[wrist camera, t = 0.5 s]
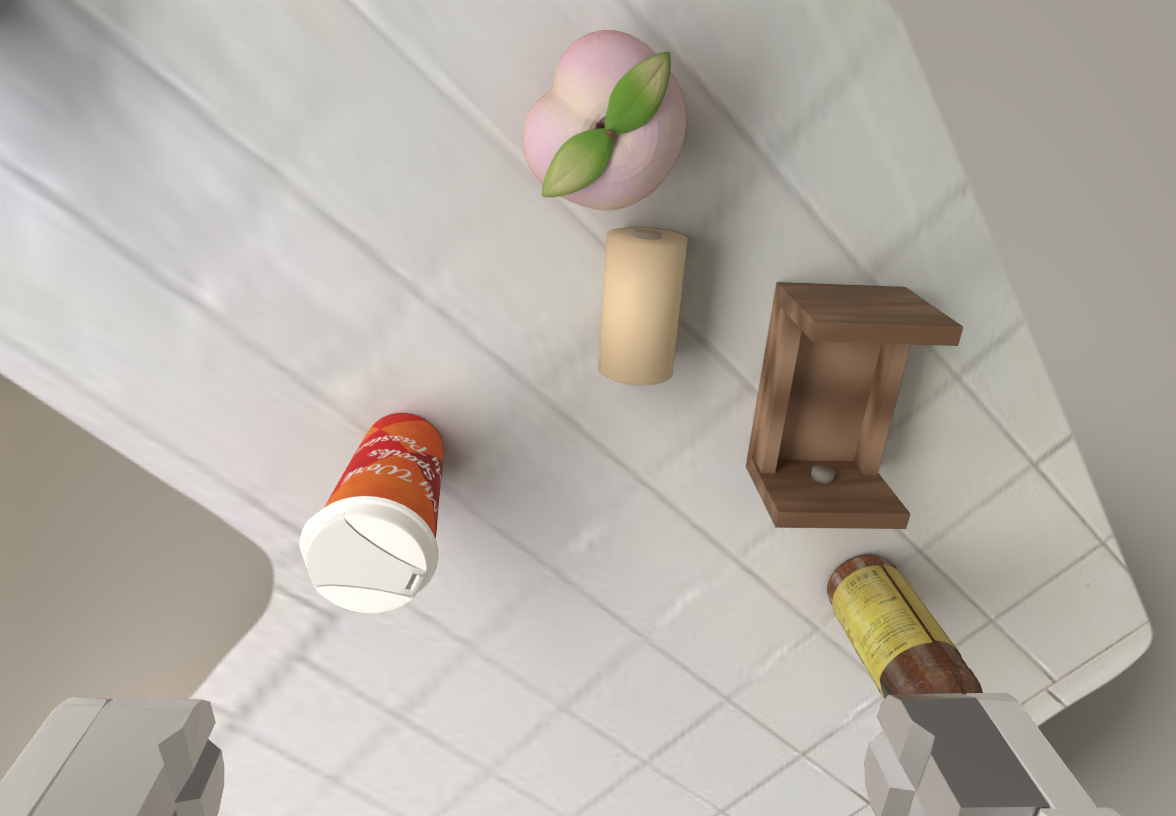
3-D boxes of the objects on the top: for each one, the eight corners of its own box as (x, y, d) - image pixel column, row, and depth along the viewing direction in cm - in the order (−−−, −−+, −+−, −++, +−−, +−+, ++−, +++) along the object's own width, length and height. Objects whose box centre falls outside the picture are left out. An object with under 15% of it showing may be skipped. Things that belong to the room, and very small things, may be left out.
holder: (776, 282, 52) (815, 322, 45) (904, 286, 52) (963, 326, 45) (745, 466, 58) (775, 527, 51) (860, 468, 59) (906, 528, 52)
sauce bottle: (813, 606, 64) (920, 824, 47) (837, 546, 62) (960, 753, 44) (886, 614, 65) (1017, 831, 48) (912, 555, 63) (1062, 761, 45)
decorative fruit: (614, 220, 49) (631, 261, 40) (504, 147, 47) (496, 174, 38) (701, 88, 46) (741, 101, 37) (588, 3, 44) (601, -5, 35)
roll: (603, 222, 49) (612, 241, 45) (679, 225, 50) (695, 244, 45) (594, 357, 53) (602, 387, 49) (665, 359, 54) (678, 388, 49)
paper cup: (474, 424, 55) (456, 539, 42) (434, 506, 58) (406, 636, 45) (370, 381, 53) (319, 488, 41) (333, 468, 56) (275, 593, 43)
